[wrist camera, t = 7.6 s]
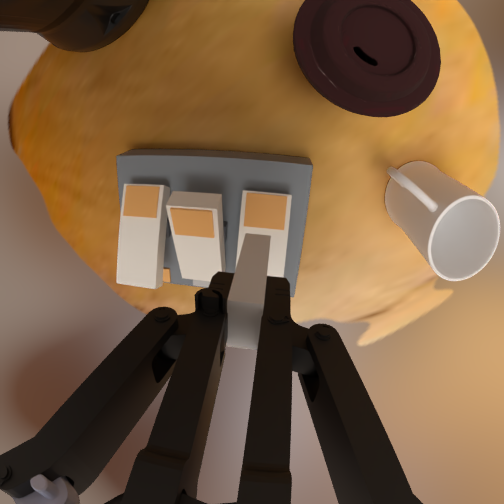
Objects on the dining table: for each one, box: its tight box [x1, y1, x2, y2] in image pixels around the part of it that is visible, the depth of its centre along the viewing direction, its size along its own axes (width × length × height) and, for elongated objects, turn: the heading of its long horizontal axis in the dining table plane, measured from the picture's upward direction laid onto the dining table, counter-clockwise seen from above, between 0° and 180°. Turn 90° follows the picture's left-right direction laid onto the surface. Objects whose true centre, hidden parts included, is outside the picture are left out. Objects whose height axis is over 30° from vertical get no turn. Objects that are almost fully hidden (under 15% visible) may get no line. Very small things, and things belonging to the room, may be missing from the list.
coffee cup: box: [293, 0, 441, 117], centre depth 19 cm, size 10×10×15 cm
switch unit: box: [116, 149, 313, 297], centre depth 33 cm, size 15×20×5 cm
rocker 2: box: [166, 191, 226, 282], centre depth 29 cm, size 10×4×2 cm, turn 179°
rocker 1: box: [117, 184, 171, 289], centre depth 29 cm, size 10×4×2 cm, turn 174°
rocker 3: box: [236, 190, 292, 277], centre depth 29 cm, size 10×4×2 cm, turn 174°
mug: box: [385, 161, 500, 281], centre depth 26 cm, size 12×8×12 cm
